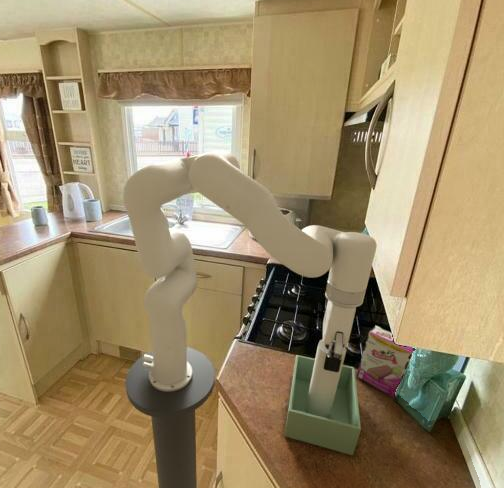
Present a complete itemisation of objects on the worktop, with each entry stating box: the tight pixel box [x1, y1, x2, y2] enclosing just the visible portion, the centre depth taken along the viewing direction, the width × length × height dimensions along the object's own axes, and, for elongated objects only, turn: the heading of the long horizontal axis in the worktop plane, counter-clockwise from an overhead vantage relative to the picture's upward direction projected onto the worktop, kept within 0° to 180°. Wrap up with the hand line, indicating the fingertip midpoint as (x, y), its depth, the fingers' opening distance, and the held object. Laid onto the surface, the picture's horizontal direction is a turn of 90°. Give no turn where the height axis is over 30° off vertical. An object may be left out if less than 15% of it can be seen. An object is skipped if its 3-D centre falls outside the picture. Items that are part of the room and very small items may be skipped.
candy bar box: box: [355, 325, 417, 399], centre depth 86 cm, size 11×5×16 cm, turn 44°
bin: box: [284, 354, 362, 456], centre depth 78 cm, size 15×19×9 cm
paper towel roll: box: [306, 338, 347, 419], centre depth 75 cm, size 7×6×21 cm
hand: (330, 356), depth 72 cm, fingers closed on paper towel roll, 8 cm apart
